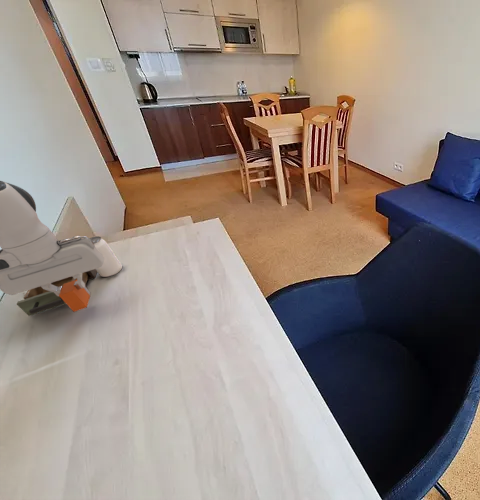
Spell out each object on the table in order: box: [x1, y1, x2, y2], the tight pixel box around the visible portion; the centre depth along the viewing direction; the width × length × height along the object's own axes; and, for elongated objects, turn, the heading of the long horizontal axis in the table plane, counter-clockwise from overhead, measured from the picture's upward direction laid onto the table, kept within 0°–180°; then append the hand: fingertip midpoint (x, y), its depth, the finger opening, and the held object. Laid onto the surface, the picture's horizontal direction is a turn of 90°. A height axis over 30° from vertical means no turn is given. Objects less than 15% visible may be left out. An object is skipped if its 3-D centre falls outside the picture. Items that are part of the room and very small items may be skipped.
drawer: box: [16, 272, 89, 317], centre depth 89 cm, size 19×13×5 cm
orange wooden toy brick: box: [59, 280, 91, 313], centre depth 80 cm, size 3×7×6 cm, turn 28°
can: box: [89, 236, 123, 278], centre depth 96 cm, size 6×6×12 cm
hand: (72, 290), depth 79 cm, fingers closed on orange wooden toy brick, 3 cm apart
